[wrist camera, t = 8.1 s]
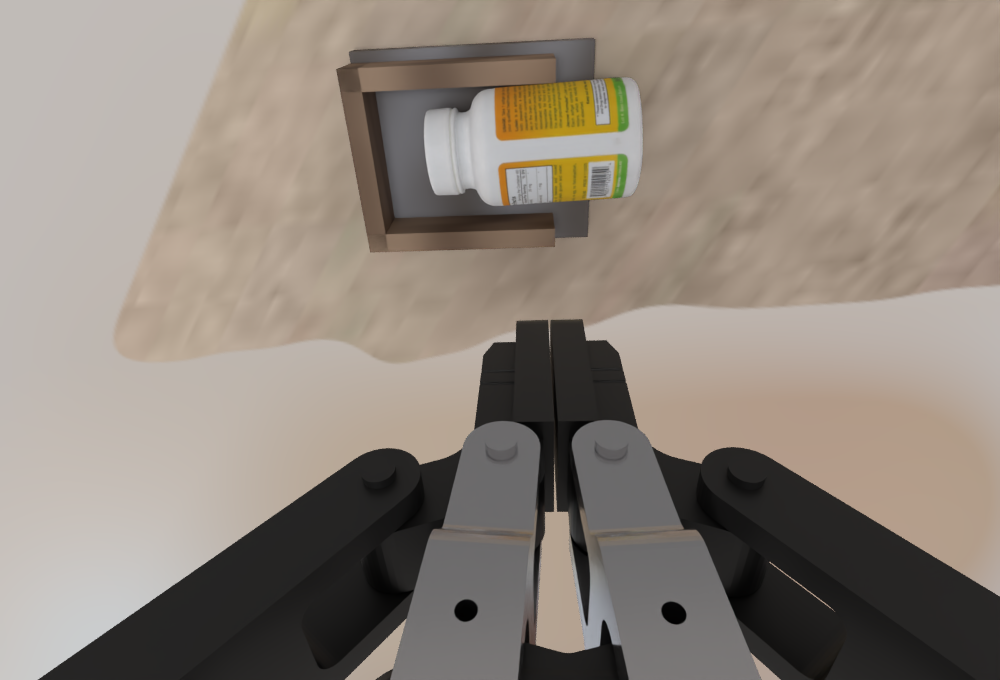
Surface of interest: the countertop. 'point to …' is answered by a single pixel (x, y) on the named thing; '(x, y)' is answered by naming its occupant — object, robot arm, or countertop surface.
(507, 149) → the supplement bottle
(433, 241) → the u rest
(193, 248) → the countertop surface
